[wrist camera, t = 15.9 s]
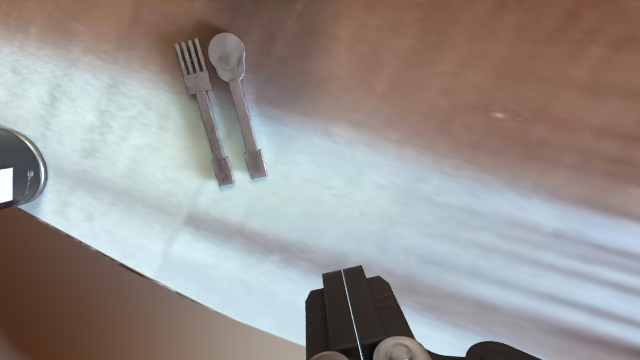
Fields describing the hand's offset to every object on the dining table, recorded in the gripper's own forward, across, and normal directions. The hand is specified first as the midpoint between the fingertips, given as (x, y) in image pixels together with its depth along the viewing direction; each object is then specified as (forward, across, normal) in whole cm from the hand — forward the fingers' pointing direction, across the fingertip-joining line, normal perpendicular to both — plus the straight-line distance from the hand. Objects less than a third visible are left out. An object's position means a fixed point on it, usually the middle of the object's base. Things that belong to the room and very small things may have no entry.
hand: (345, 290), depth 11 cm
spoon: (+25, +7, -8) cm, 27 cm away
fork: (+26, +11, -8) cm, 29 cm away
